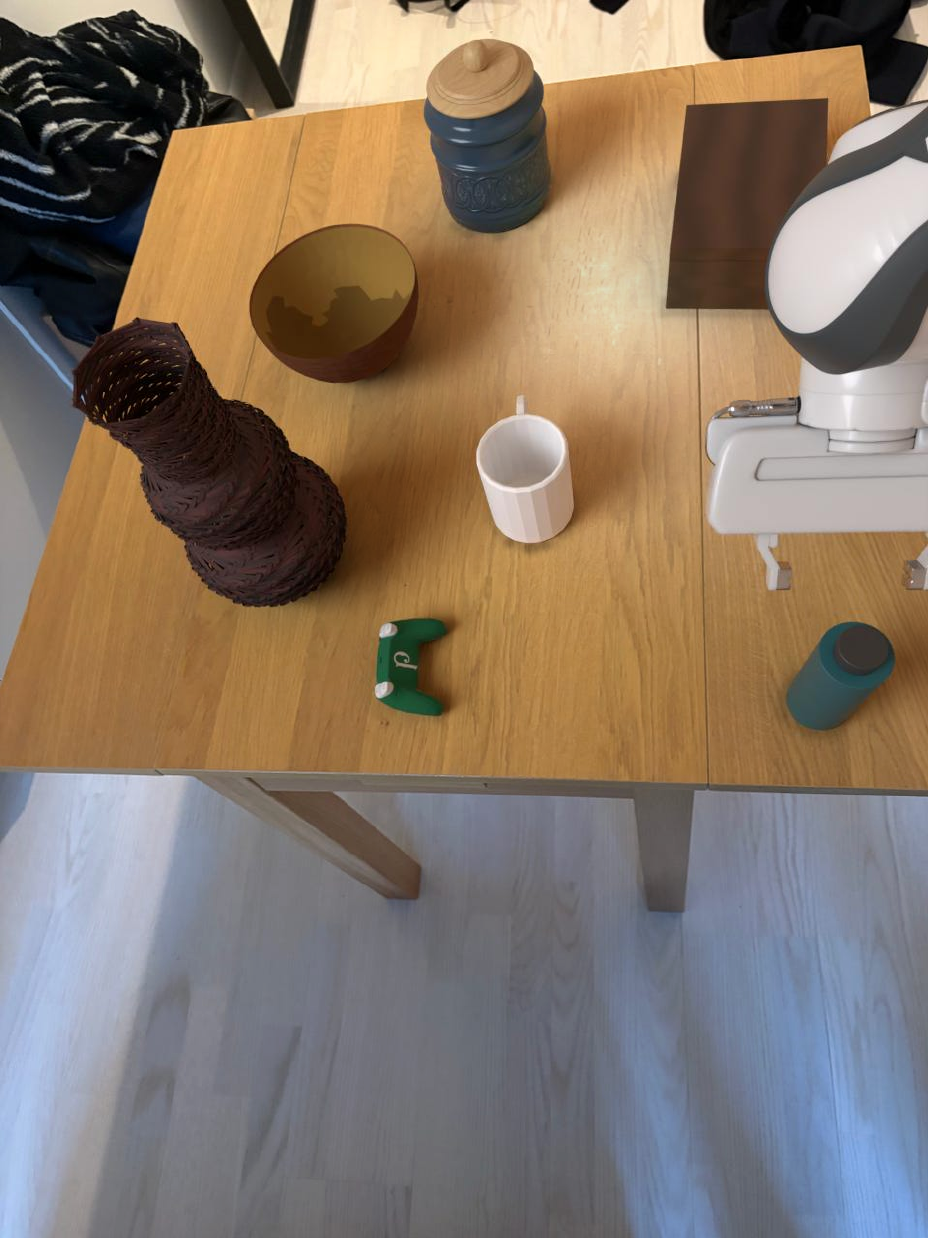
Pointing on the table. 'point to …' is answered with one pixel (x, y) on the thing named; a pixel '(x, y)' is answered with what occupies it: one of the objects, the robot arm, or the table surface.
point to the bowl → (337, 302)
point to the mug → (526, 475)
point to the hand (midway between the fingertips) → (845, 587)
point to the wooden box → (738, 195)
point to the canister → (489, 135)
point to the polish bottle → (840, 675)
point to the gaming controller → (405, 665)
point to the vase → (214, 468)
